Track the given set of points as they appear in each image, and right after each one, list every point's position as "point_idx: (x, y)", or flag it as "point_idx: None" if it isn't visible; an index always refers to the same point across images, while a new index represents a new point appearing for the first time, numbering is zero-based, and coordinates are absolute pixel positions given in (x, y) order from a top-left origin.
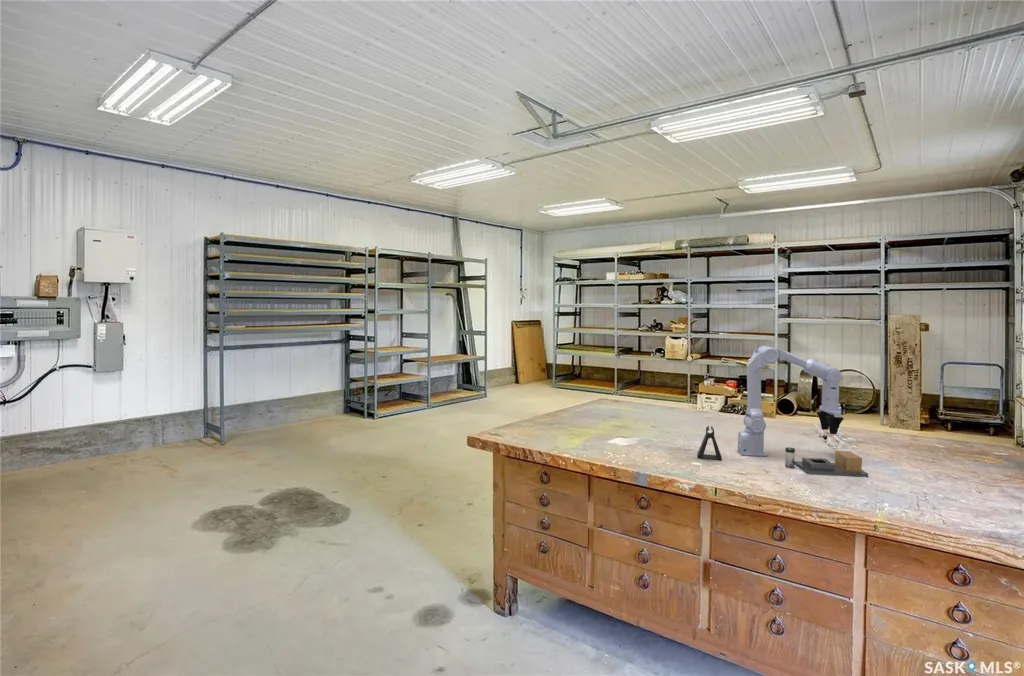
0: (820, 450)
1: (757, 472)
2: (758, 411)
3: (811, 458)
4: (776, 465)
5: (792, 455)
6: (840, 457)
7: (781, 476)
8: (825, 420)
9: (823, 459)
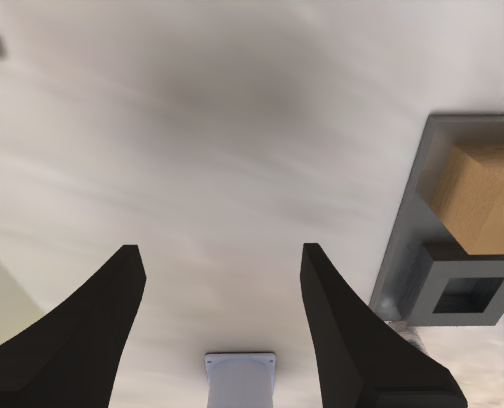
0: (88, 147)
1: None
2: None
3: (422, 304)
4: None
5: None
6: None
7: (487, 361)
8: (107, 340)
9: (446, 272)
